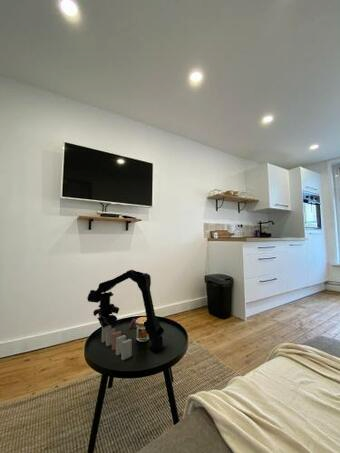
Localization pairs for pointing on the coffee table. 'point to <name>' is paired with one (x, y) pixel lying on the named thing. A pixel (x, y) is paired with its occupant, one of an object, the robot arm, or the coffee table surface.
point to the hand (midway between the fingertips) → (104, 330)
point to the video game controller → (132, 324)
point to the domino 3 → (114, 336)
